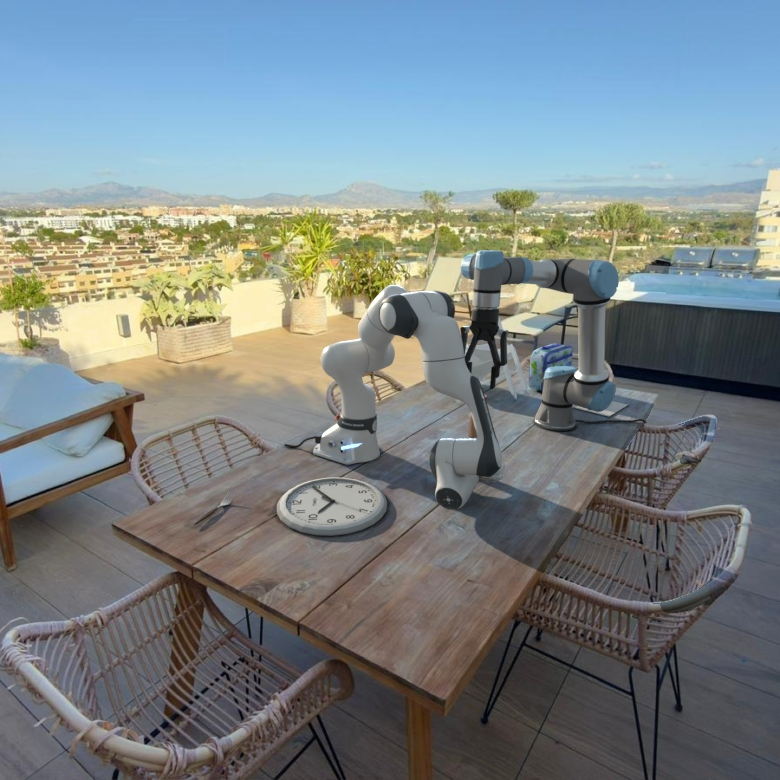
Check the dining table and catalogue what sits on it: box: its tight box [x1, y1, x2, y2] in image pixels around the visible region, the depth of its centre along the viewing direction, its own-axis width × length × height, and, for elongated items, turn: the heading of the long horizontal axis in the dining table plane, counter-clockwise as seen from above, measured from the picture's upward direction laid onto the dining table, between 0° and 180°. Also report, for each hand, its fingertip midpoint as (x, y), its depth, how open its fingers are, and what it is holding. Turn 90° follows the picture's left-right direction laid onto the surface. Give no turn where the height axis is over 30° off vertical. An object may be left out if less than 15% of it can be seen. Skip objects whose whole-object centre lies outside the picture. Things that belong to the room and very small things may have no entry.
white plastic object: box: [464, 317, 531, 400], centre depth 245 cm, size 37×45×31 cm
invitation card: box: [573, 400, 629, 418], centre depth 226 cm, size 21×1×15 cm
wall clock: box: [276, 476, 388, 537], centre depth 142 cm, size 30×2×30 cm
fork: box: [193, 490, 237, 526], centre depth 138 cm, size 3×16×2 cm, turn 160°
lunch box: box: [528, 343, 574, 392], centre depth 249 cm, size 26×11×21 cm, turn 134°
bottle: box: [468, 413, 477, 438], centre depth 158 cm, size 5×5×26 cm
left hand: (475, 455), depth 160 cm, fingers open, 8 cm apart
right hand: (480, 385), depth 153 cm, fingers open, 7 cm apart
